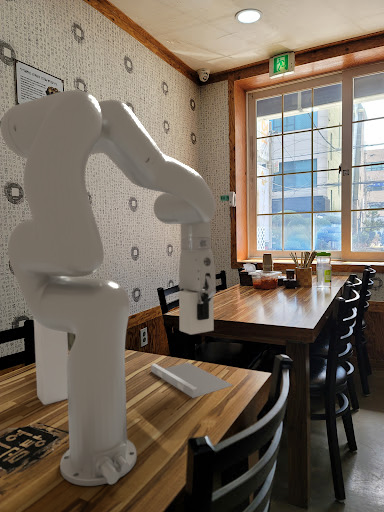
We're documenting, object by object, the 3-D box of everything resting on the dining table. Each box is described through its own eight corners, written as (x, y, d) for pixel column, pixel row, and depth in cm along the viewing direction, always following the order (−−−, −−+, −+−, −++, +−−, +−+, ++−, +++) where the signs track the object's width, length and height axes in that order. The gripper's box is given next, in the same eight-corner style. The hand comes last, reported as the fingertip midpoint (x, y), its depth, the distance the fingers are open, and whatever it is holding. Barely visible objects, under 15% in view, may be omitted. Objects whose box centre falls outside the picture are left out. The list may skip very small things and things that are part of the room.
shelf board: (233, 391, 90) (233, 377, 90) (192, 404, 84) (192, 389, 83) (188, 367, 107) (187, 355, 107) (150, 377, 100) (150, 364, 100)
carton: (190, 334, 89) (190, 293, 88) (179, 330, 93) (178, 290, 93) (213, 330, 93) (213, 290, 92) (201, 326, 97) (201, 288, 97)
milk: (44, 405, 84) (39, 311, 83) (37, 396, 89) (32, 306, 88) (70, 398, 88) (66, 307, 87) (62, 389, 93) (58, 303, 91)
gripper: (229, 245, 87) (229, 321, 88) (189, 244, 101) (189, 310, 102) (203, 245, 83) (204, 325, 84) (165, 245, 97) (166, 313, 98)
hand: (196, 316), depth 93 cm, fingers closed on carton, 5 cm apart
